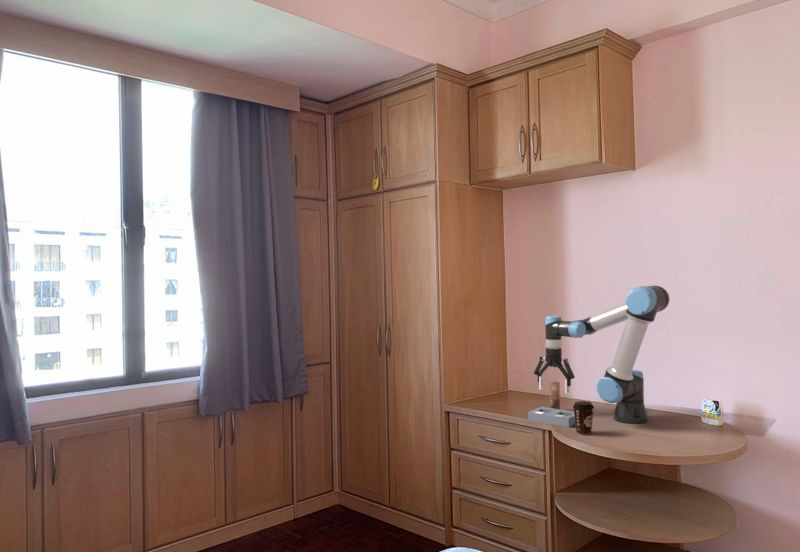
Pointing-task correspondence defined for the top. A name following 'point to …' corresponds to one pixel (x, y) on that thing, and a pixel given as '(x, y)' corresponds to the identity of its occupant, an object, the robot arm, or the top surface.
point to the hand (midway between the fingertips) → (554, 391)
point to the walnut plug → (554, 395)
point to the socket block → (552, 416)
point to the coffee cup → (583, 417)
